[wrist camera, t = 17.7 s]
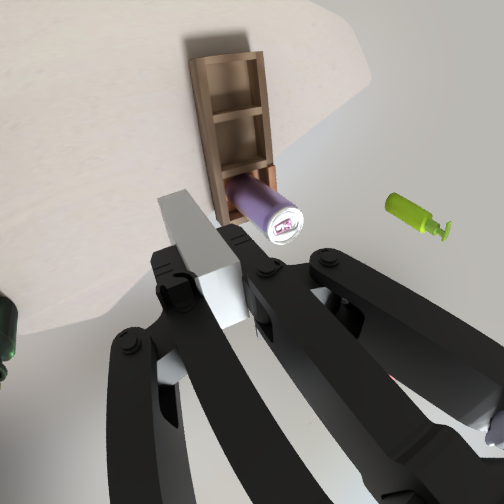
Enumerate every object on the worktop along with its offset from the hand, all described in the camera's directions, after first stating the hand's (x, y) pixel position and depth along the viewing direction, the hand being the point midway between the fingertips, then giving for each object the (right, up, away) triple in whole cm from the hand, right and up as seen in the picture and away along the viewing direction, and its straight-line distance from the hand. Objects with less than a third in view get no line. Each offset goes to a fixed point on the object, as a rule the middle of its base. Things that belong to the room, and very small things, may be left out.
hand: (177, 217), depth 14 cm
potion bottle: (-44, -13, +24) cm, 52 cm away
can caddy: (0, +17, +30) cm, 34 cm away
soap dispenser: (+43, +13, +58) cm, 74 cm away
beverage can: (+2, +9, +35) cm, 36 cm away
